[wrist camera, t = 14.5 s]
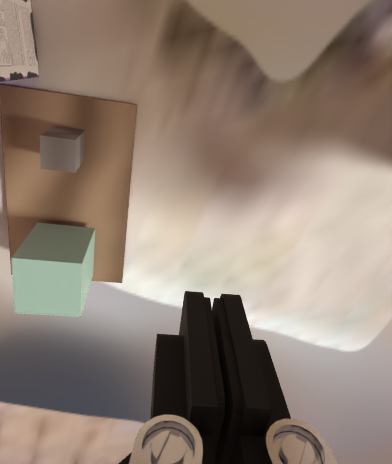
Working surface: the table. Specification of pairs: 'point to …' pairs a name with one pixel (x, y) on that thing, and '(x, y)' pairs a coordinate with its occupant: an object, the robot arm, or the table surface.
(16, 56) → the candy box
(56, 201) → the walnut board
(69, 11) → the table surface
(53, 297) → the mint green cube
